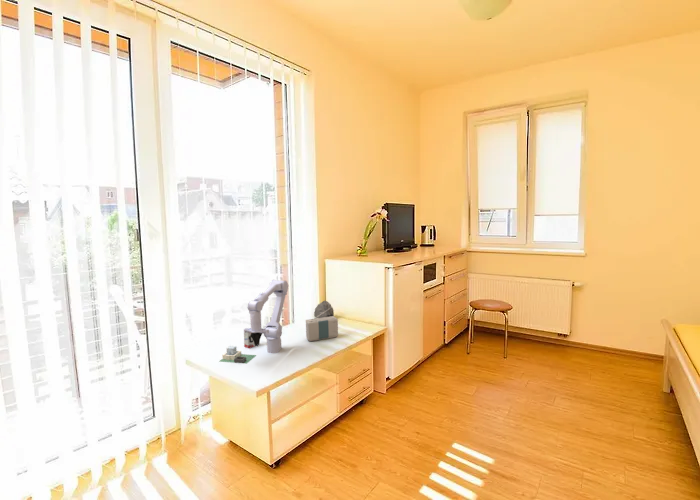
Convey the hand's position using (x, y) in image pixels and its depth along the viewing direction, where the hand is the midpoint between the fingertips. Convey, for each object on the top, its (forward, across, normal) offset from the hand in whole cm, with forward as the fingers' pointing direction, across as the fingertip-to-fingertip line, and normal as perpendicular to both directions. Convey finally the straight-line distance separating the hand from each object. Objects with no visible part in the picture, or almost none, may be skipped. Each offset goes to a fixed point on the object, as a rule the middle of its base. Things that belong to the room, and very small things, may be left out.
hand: (256, 345), depth 203 cm
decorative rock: (+10, +12, +88) cm, 89 cm away
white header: (+9, -17, +2) cm, 19 cm away
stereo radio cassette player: (+10, +24, +45) cm, 52 cm away
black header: (+9, -9, -3) cm, 13 cm away
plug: (+9, -17, +2) cm, 20 cm away
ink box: (+10, -15, +21) cm, 28 cm away
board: (+10, -13, +1) cm, 16 cm away
